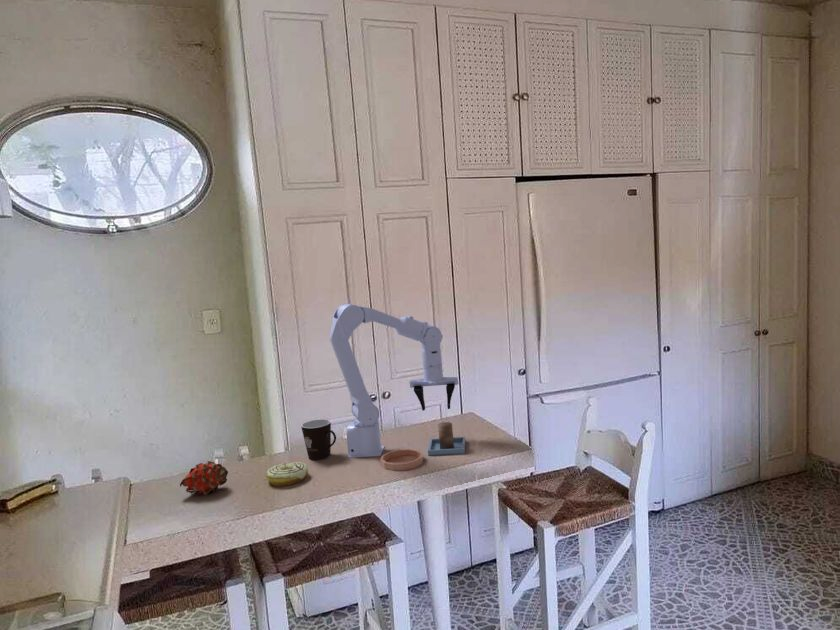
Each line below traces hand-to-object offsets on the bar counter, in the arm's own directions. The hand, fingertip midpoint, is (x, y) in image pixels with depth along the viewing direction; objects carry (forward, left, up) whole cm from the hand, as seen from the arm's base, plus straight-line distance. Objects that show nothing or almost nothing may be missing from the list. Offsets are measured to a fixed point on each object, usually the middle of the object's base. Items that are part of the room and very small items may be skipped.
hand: (436, 408), depth 175 cm
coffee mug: (-34, -11, -10) cm, 37 cm away
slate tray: (+3, -10, -9) cm, 14 cm away
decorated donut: (-39, -26, -10) cm, 48 cm away
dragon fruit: (-59, -32, -10) cm, 68 cm away
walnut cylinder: (+3, -10, -9) cm, 14 cm away
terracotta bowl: (-9, -19, -9) cm, 23 cm away
